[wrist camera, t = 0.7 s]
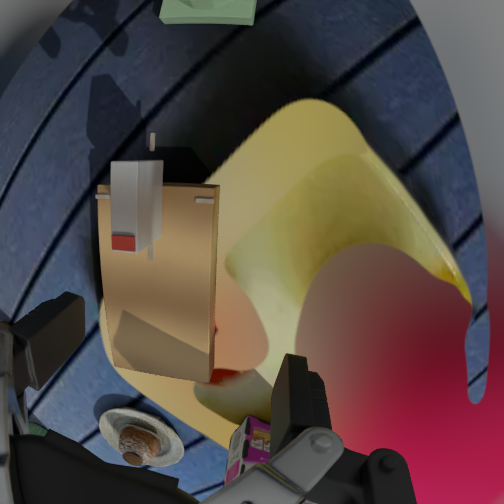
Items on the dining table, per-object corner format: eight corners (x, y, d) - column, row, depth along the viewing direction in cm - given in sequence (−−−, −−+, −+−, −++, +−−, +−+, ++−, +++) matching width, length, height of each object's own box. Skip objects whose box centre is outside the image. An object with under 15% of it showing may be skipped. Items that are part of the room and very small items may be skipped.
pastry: (95, 432, 37) (82, 453, 33) (113, 387, 34) (98, 411, 30) (167, 470, 38) (160, 493, 34) (200, 433, 35) (193, 460, 31)
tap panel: (113, 136, 26) (96, 135, 23) (224, 136, 26) (217, 133, 22) (124, 351, 32) (112, 367, 29) (215, 365, 32) (209, 384, 29)
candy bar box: (229, 436, 35) (209, 550, 19) (247, 413, 33) (232, 538, 18) (306, 460, 36) (312, 566, 20) (328, 440, 34) (342, 552, 18)
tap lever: (140, 159, 23) (108, 161, 18) (163, 160, 23) (136, 161, 18) (139, 234, 25) (110, 252, 20) (162, 236, 25) (136, 255, 20)
